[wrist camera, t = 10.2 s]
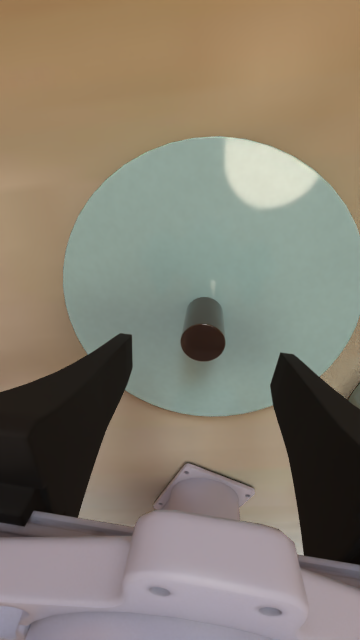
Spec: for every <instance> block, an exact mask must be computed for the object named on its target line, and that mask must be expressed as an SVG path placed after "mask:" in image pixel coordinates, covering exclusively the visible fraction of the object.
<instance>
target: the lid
mask: <svg viewBox="0 0 360 640" xmlns="http://www.w3.org/2000/svg"><path fill="white" fill-rule="evenodd" d="M63 289H64V296H65V303H66V307H67V311H68V315H69V318H70V321H71V324H72V326H73V329H74V331H75V333H76V335H77V337H78V339H79V341H80V343H81V344H82V346H83V348H84V349H85V351H86V352H87V354H90V353H92V352H93V351H95V350H96V349H98V348H99V347H100V346H102V345H103V344H105V343H106V342H108V341H109V340H111V339H112V338H113V337H115V336H116V335H118V334H119V333H123V334H131V335H132V362H133V368H132V371H131V375H130V378H129V381H128V384H127V386H126V389H125V391H127V392H129V393H130V394H132V395H134V396H136V397H137V398H139V399H141V400H143V401H145V402H148V403H150V404H152V405H155V406H157V407H160V408H163V409H166V410H170V411H174V412H178V413H182V414H189V415H195V416H211V417H212V416H230V415H238V414H244V413H249V412H253V411H257V410H260V409H263V408H266V407H270V406H272V405H273V402H272V396H271V389H270V384H271V381H272V377H273V374H274V371H275V368H276V365H277V361H278V358H279V355H280V352H281V353H289V354H294V355H295V356H297V357H298V358H299V359H300V360H301V361H302V362H303V363H304V364H306V365H307V366H308V367H309V368H310V369H311V370H312V371H313V372H314V373H315V374H317V375H318V376H319V377H320V376H321V375H322V374H323V373H324V372H325V371H326V370H327V369H328V368H329V367H330V366H331V365H332V363H333V362H334V361H335V360H336V359H337V358H338V356H339V355H340V353H341V352H342V350H343V349H344V347H345V346H346V344H347V343H348V341H349V339H350V337H351V335H352V333H353V331H354V329H355V327H356V325H357V322H358V319H359V316H360V235H359V232H358V229H357V225H356V223H355V222H354V220H353V218H352V216H351V214H350V212H349V210H348V208H347V206H346V204H345V203H344V202H343V200H342V199H341V198H340V197H339V195H338V194H337V193H336V191H335V190H334V189H333V187H332V186H331V185H330V184H329V183H328V182H327V181H326V180H325V179H323V178H322V177H321V176H320V175H319V174H318V173H317V172H316V171H315V170H314V169H312V168H311V167H309V166H308V165H306V164H305V163H303V162H302V161H300V160H299V159H297V158H296V157H294V156H292V155H290V154H288V153H286V152H283V151H281V150H279V149H277V148H275V147H272V146H270V145H266V144H263V143H259V142H255V141H251V140H247V139H241V138H231V137H221V136H216V137H199V138H190V139H186V140H181V141H177V142H172V143H168V144H165V145H163V146H160V147H158V148H155V149H153V150H150V151H148V152H145V153H143V154H142V155H140V156H138V157H136V158H135V159H133V160H131V161H130V162H128V163H126V164H124V165H123V166H122V167H121V168H119V169H118V170H117V171H116V172H115V173H113V174H112V175H111V176H110V177H108V178H107V179H106V180H105V181H104V182H103V183H102V185H101V186H100V187H99V188H98V189H97V190H96V191H95V192H94V193H93V194H92V196H91V197H90V199H89V200H88V202H87V203H86V205H85V206H84V208H83V209H82V211H81V212H80V214H79V216H78V218H77V220H76V223H75V225H74V227H73V229H72V231H71V235H70V238H69V241H68V245H67V248H66V253H65V260H64V267H63Z"/></svg>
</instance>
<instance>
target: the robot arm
mask: <svg viewBox="0 0 360 640" xmlns="http://www.w3.org/2000/svg"><path fill="white" fill-rule="evenodd" d="M132 368H133V362H132V335H131V334H123V333H119V334H118V335H116V336H115V337H113V338H112V339H111V340H109V341H108V342H106V343H105V344H103V345H102V346H100V347H99V348H98V349H96V350H95V351H93V352H92V353H90V354H88V355H87V356H85V357H83V358H82V359H80V360H78V361H77V362H75V363H73V364H71V365H69V366H67V367H65V368H63V369H61V370H59V371H57V372H55V373H53V374H51V375H48V376H46V377H43V378H41V379H38V380H36V381H33V382H31V383H28V384H25V385H22V386H19V387H16V388H13V389H10V390H6V391H3V392H0V640H360V409H359V408H358V407H356V406H355V405H353V404H352V403H351V402H349V401H348V400H347V399H345V398H344V397H343V396H342V395H340V394H339V393H338V392H336V391H335V390H334V389H333V388H332V387H330V386H329V385H328V384H327V383H326V382H325V381H323V380H322V379H321V378H320V377H319V376H318V375H317V374H315V373H314V372H313V371H312V370H311V369H310V368H309V367H308V366H307V365H306V364H304V363H303V362H302V361H301V360H300V359H299V358H298V357H297V356H295V355H294V354H289V353H281V352H280V355H279V358H278V361H277V365H276V368H275V371H274V374H273V377H272V381H271V384H270V389H271V396H272V402H273V406H274V410H275V413H276V417H277V420H278V423H279V426H280V430H281V433H282V436H283V440H284V443H285V446H286V450H287V453H288V457H289V462H290V467H291V472H292V478H293V483H294V489H295V495H296V501H297V507H298V514H299V520H300V527H301V534H302V543H303V551H304V556H303V555H297V552H296V548H295V544H294V542H293V541H292V540H291V539H289V538H288V537H287V536H286V535H285V534H284V533H283V532H281V531H280V530H279V529H276V528H273V527H269V526H266V525H263V524H258V523H252V522H246V521H240V514H239V507H241V506H242V505H243V504H244V503H245V502H246V501H248V500H249V499H250V498H251V497H252V496H253V495H254V494H255V490H254V488H252V487H249V486H247V485H244V484H242V483H239V482H236V481H234V480H231V479H229V478H226V477H223V476H221V475H218V474H216V473H213V472H210V471H208V470H205V469H203V468H200V467H197V466H195V465H192V464H189V463H187V464H185V465H184V466H183V467H182V469H181V470H180V471H179V472H178V474H177V475H176V476H175V477H174V479H173V480H172V481H171V482H170V484H169V485H168V486H167V487H166V489H165V490H164V491H163V492H162V494H161V495H160V496H159V497H158V499H157V500H156V501H155V502H154V505H153V507H154V509H156V510H154V511H151V512H149V513H146V514H143V515H142V516H140V517H139V519H138V520H137V522H136V524H135V526H134V527H130V526H124V525H118V524H112V523H106V522H100V521H94V520H88V519H82V518H78V515H79V512H80V508H81V505H82V501H83V498H84V495H85V492H86V489H87V485H88V482H89V479H90V476H91V473H92V470H93V467H94V464H95V461H96V458H97V455H98V452H99V449H100V446H101V443H102V440H103V437H104V435H105V432H106V429H107V427H108V425H109V422H110V420H111V418H112V416H113V414H114V412H115V410H116V408H117V406H118V403H119V401H120V399H121V397H122V395H123V393H124V391H125V389H126V386H127V384H128V381H129V378H130V375H131V371H132Z"/></svg>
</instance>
